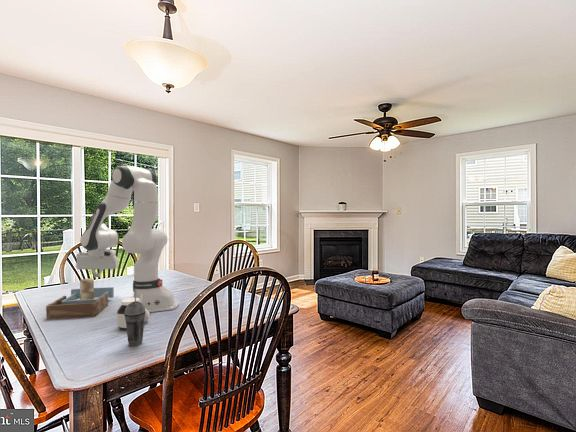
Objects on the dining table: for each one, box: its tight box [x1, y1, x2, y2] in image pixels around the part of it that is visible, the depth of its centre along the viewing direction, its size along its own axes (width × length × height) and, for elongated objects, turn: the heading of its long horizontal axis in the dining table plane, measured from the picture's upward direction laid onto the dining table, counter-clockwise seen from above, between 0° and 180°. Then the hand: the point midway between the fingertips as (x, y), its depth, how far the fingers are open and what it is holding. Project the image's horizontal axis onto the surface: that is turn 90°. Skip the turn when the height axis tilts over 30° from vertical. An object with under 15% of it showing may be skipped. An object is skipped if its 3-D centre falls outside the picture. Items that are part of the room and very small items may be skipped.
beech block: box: [79, 278, 95, 300], centre depth 162 cm, size 5×5×11 cm
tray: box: [61, 286, 115, 305], centre depth 163 cm, size 19×20×5 cm
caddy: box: [45, 294, 109, 320], centre depth 153 cm, size 17×20×6 cm
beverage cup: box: [124, 289, 146, 348], centre depth 117 cm, size 7×7×20 cm
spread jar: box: [116, 297, 151, 331], centre depth 136 cm, size 12×11×12 cm
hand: (97, 276), depth 178 cm, fingers closed
